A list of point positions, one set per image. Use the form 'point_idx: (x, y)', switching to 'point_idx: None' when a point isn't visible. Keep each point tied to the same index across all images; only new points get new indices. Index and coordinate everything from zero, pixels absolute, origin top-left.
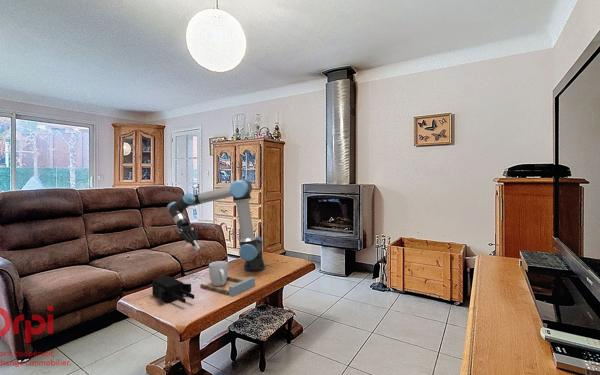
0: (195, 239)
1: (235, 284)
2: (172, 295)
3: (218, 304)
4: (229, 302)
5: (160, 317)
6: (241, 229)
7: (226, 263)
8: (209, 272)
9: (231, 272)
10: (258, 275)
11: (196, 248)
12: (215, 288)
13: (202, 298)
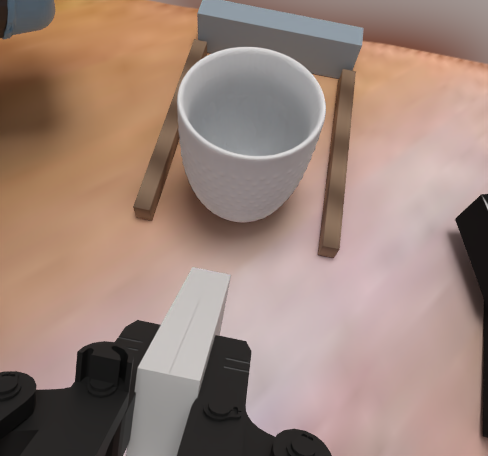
0: (131, 362)
1: (324, 32)
2: None
3: (440, 76)
4: (403, 52)
5: None
6: None
7: (206, 67)
8: (296, 180)
9: None
10: (37, 70)
11: (221, 318)
12: (347, 139)
13: (433, 162)
